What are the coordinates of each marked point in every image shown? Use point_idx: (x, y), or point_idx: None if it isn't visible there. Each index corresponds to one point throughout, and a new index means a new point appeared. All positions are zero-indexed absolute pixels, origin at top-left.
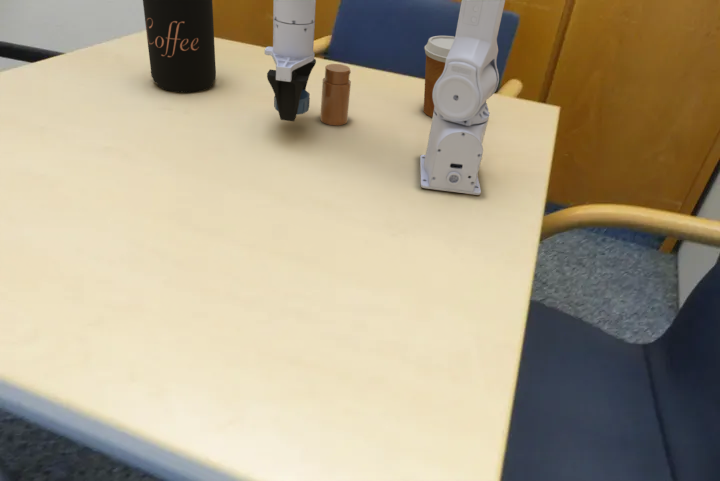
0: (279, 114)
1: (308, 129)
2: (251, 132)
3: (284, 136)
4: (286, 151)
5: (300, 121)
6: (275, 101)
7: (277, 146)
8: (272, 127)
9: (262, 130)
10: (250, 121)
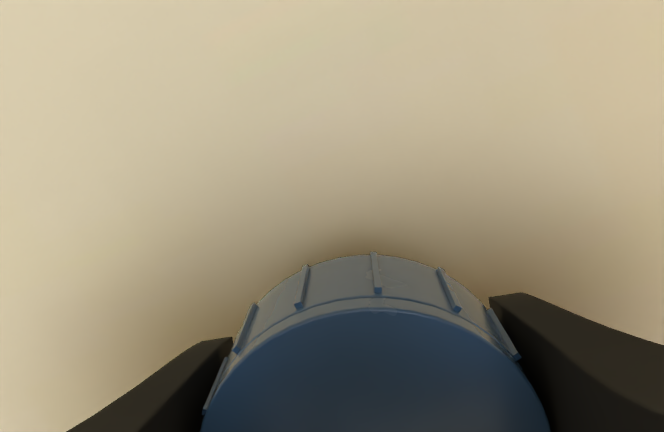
0: (185, 352)
1: None
2: (165, 112)
3: (219, 321)
4: (39, 396)
5: None
6: (268, 312)
7: (68, 332)
8: (312, 207)
9: (233, 166)
10: (336, 25)
